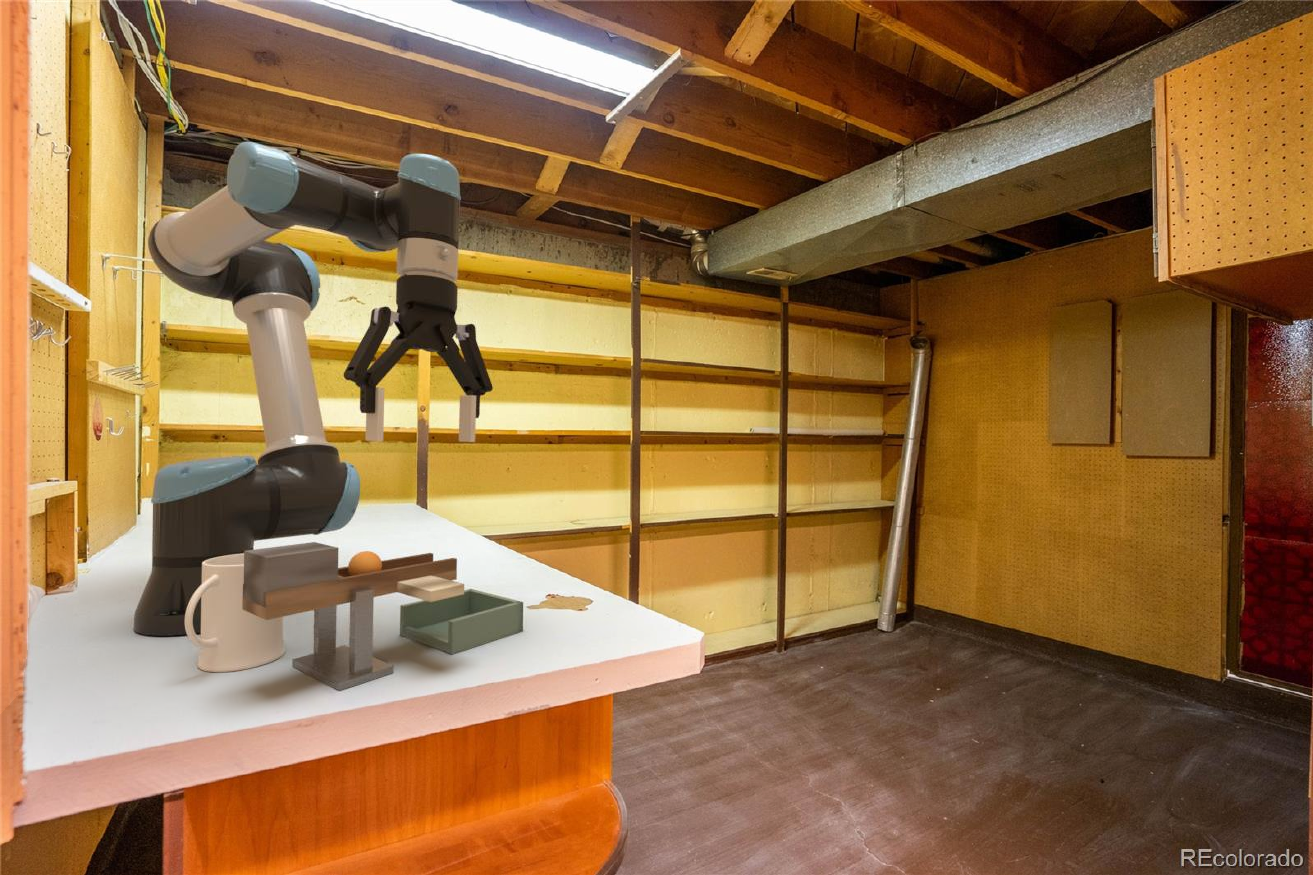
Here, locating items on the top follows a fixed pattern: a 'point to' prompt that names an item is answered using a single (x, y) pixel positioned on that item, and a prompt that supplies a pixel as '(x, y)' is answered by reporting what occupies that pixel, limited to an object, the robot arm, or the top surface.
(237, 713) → the top surface
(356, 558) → the ball
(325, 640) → the stand
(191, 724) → the top surface
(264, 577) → the lever
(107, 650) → the top surface
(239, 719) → the top surface
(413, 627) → the tray
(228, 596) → the mug
